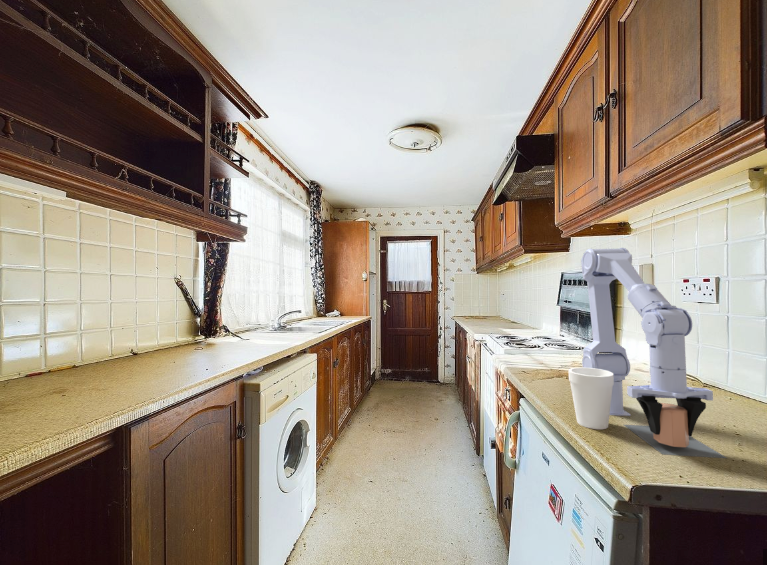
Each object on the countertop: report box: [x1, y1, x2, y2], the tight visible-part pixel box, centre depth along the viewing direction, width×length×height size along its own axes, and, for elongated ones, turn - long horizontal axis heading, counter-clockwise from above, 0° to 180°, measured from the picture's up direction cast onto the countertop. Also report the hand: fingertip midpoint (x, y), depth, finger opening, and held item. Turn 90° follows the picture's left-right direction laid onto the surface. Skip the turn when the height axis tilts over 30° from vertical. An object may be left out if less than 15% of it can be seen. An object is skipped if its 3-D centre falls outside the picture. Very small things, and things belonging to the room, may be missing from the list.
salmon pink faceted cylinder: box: [653, 402, 689, 447], centre depth 70 cm, size 5×5×7 cm
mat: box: [623, 424, 728, 459], centre depth 73 cm, size 15×11×1 cm
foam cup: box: [568, 366, 614, 430], centre depth 82 cm, size 10×9×13 cm
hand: (670, 433), depth 70 cm, fingers closed on salmon pink faceted cylinder, 5 cm apart
